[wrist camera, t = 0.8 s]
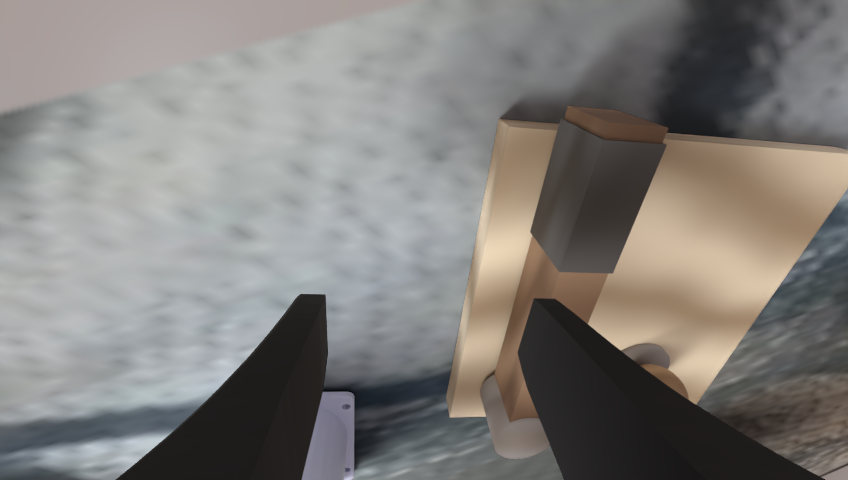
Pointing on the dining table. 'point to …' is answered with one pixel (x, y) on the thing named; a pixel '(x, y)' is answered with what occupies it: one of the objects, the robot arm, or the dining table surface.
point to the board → (655, 252)
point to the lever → (572, 247)
